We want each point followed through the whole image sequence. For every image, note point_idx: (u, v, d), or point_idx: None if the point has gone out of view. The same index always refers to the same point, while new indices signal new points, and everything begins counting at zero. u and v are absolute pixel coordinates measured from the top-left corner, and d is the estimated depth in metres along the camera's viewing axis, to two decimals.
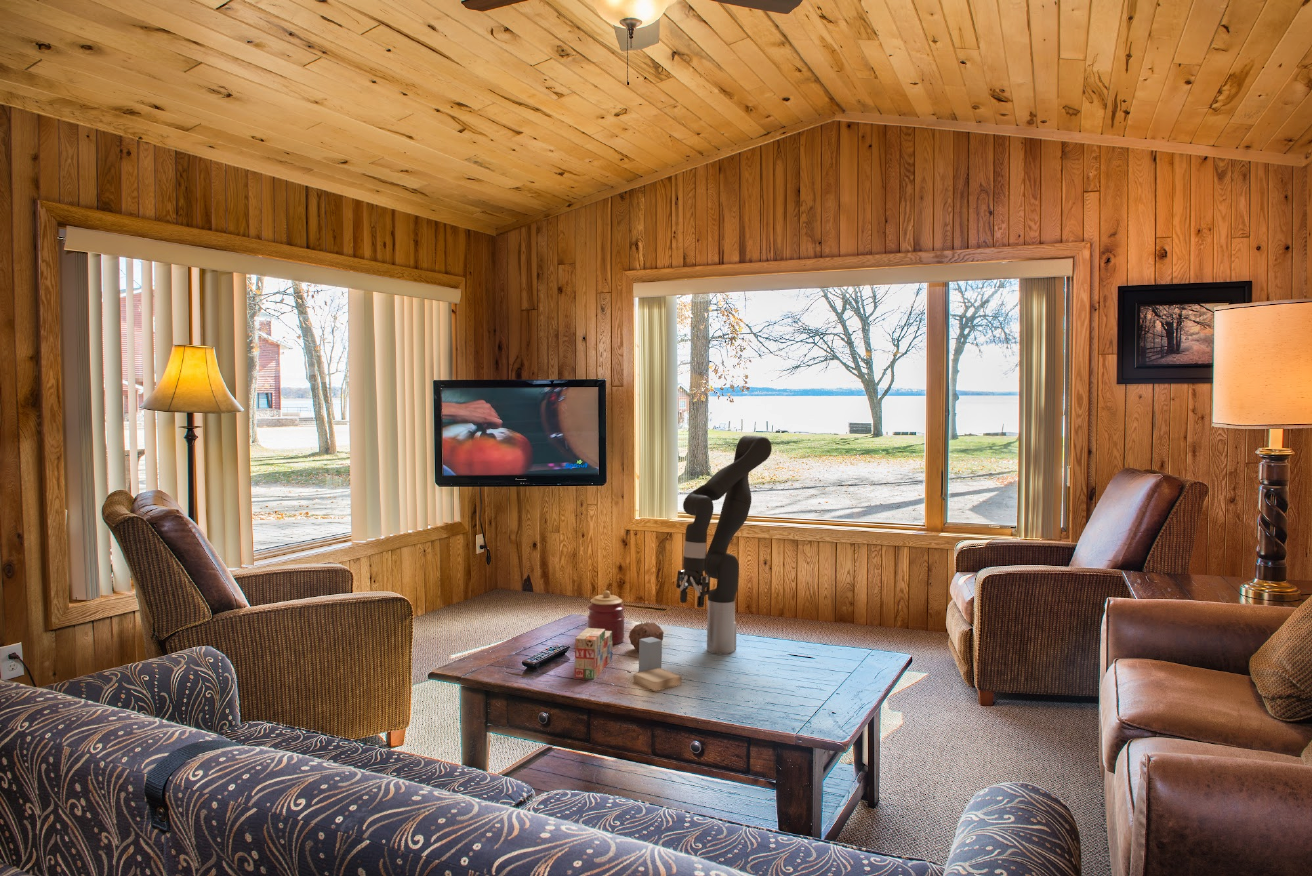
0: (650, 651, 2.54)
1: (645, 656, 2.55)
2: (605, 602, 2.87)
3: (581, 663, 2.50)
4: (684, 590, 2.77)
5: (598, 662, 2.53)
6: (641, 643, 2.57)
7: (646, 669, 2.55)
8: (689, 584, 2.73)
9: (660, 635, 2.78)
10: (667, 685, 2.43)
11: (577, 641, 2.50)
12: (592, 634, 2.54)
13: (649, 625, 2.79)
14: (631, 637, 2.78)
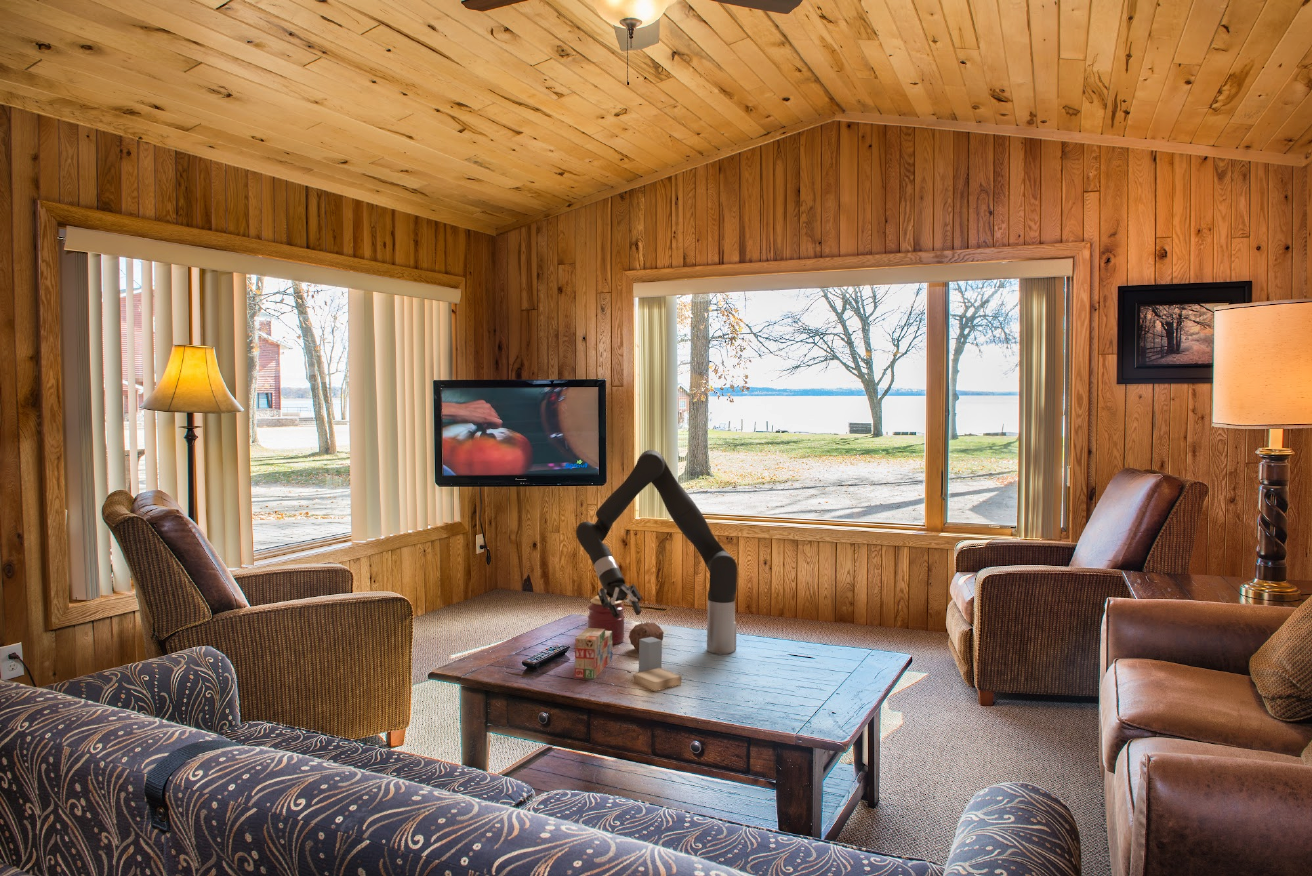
0: (650, 651, 2.54)
1: (645, 656, 2.55)
2: None
3: (581, 663, 2.50)
4: (633, 603, 2.71)
5: (598, 662, 2.54)
6: (641, 643, 2.57)
7: (646, 669, 2.55)
8: None
9: (660, 635, 2.78)
10: (667, 685, 2.43)
11: (577, 641, 2.50)
12: (592, 634, 2.54)
13: (649, 625, 2.79)
14: (631, 637, 2.78)
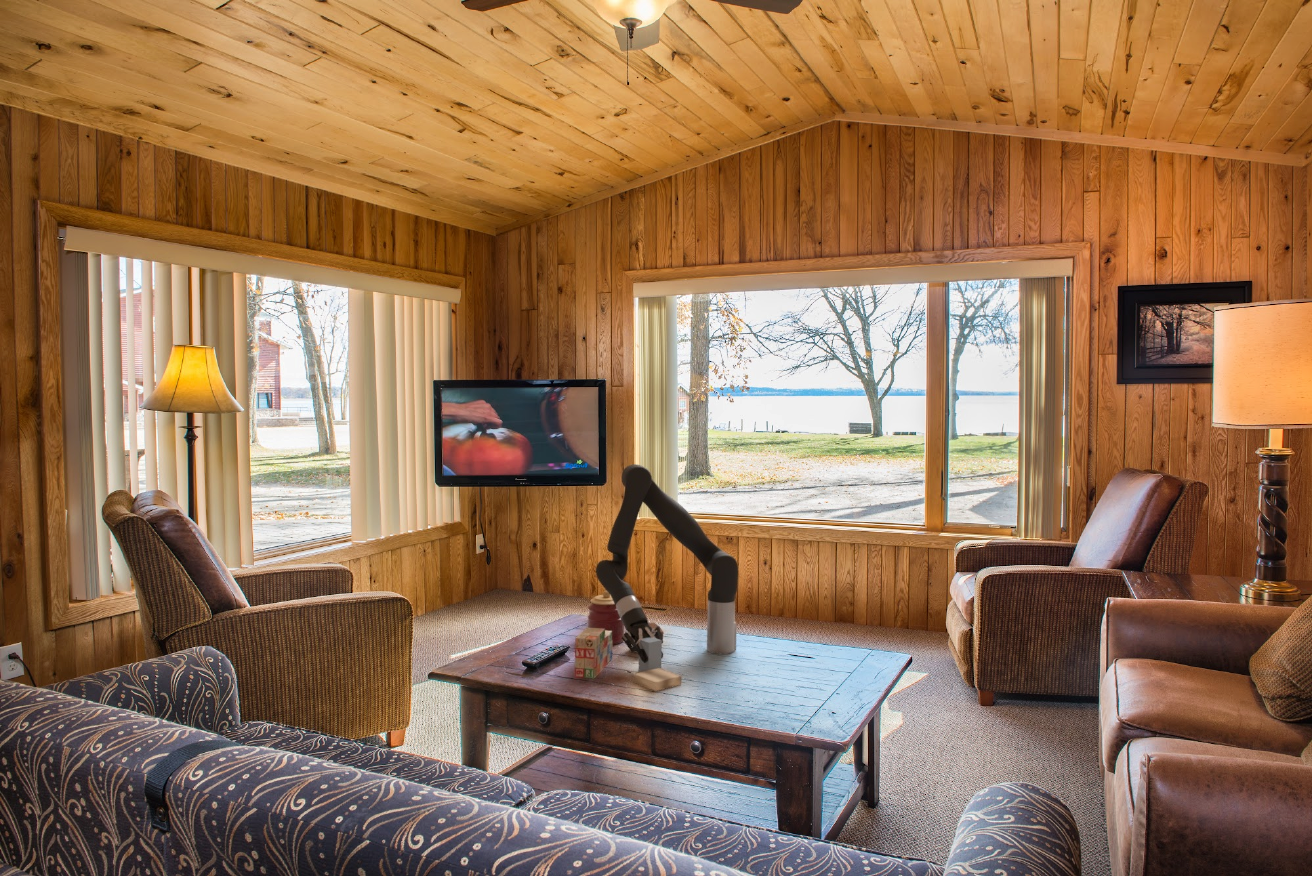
0: (650, 651, 2.54)
1: None
2: (605, 602, 2.87)
3: (581, 662, 2.51)
4: None
5: (598, 662, 2.54)
6: None
7: (646, 669, 2.55)
8: None
9: None
10: (667, 685, 2.43)
11: (577, 641, 2.51)
12: (592, 634, 2.54)
13: None
14: None
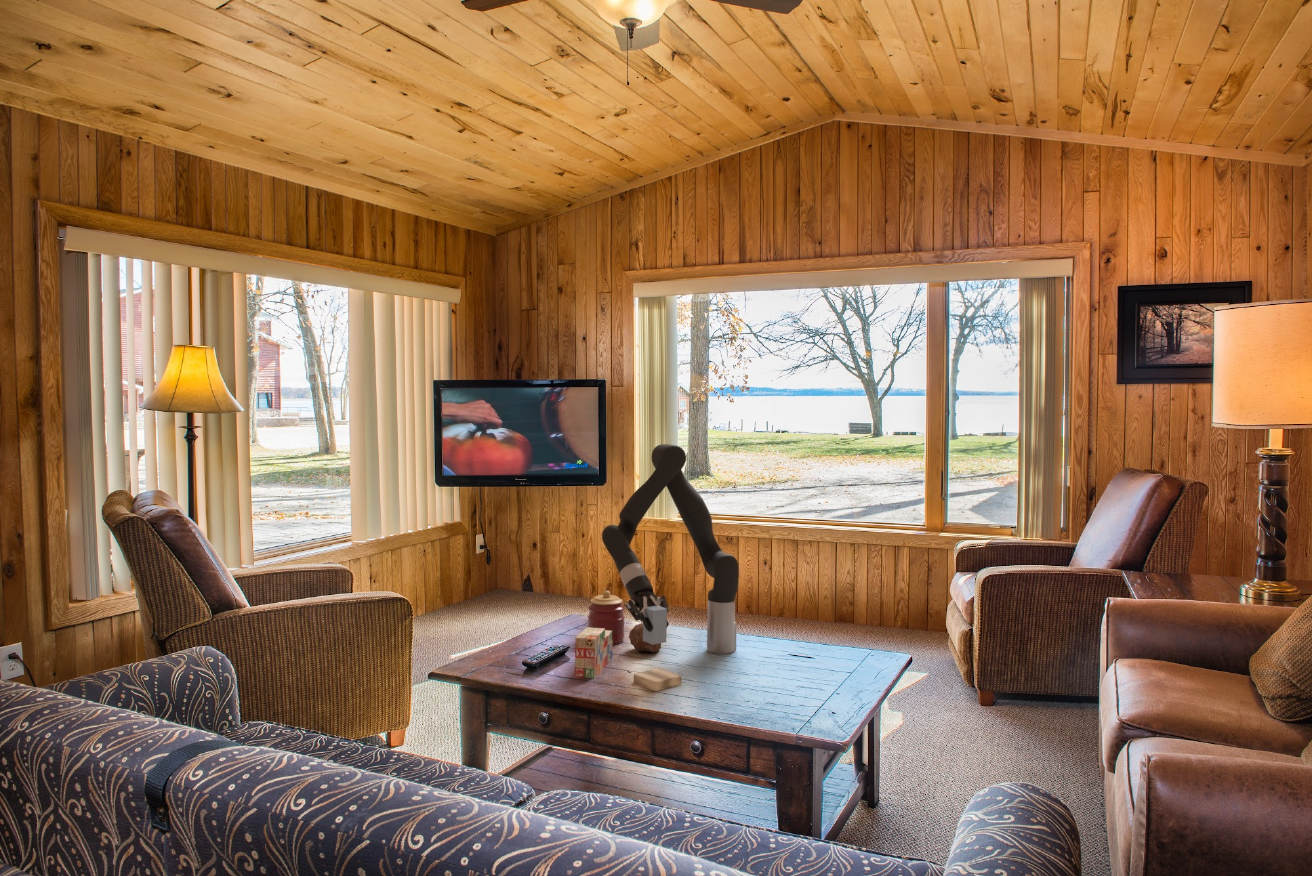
0: (655, 620, 2.45)
1: None
2: (605, 602, 2.87)
3: (581, 662, 2.51)
4: None
5: (598, 661, 2.54)
6: (646, 611, 2.47)
7: (650, 638, 2.45)
8: None
9: None
10: (667, 685, 2.43)
11: (577, 640, 2.51)
12: (592, 633, 2.55)
13: None
14: (631, 637, 2.78)
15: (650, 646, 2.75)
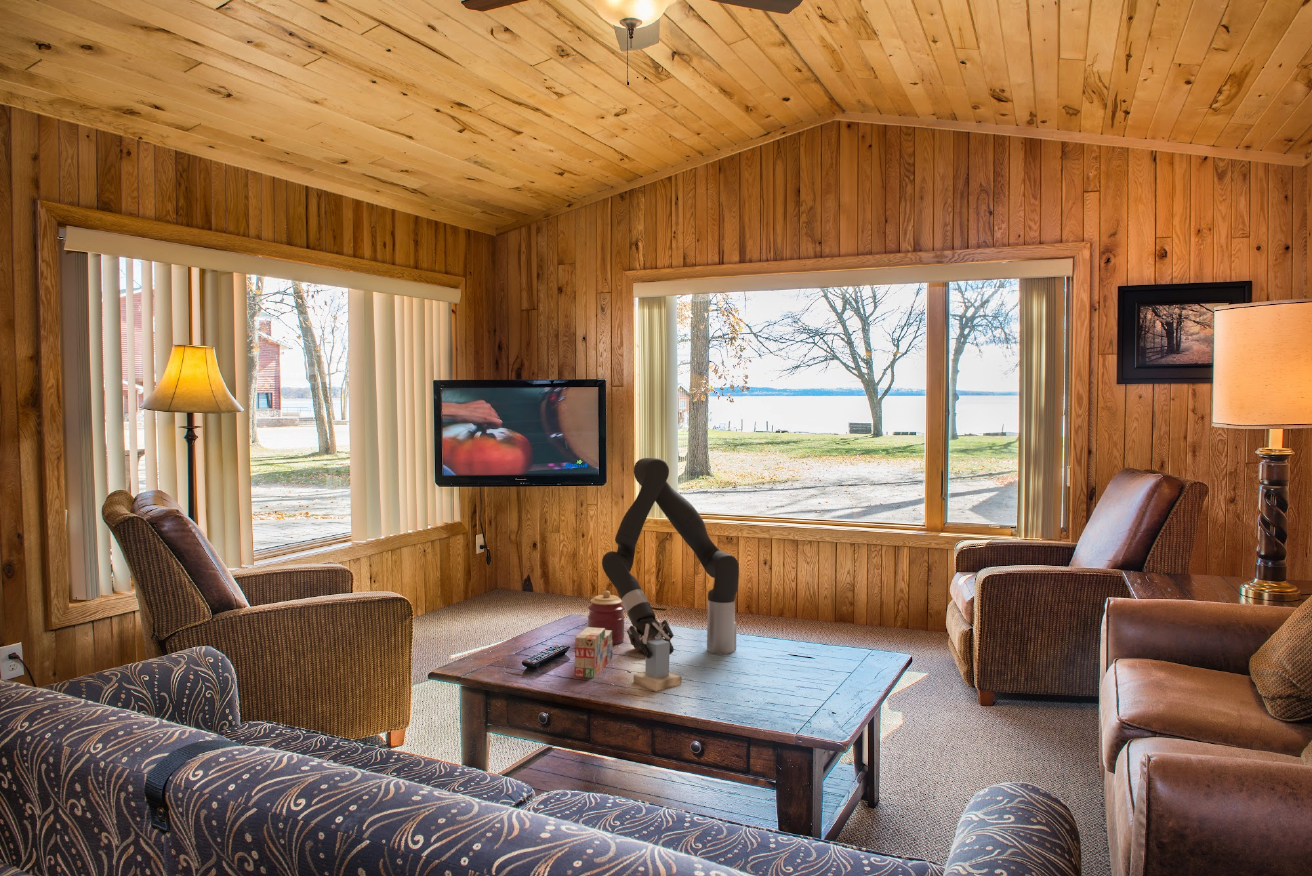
0: (657, 654, 2.43)
1: (652, 659, 2.44)
2: (605, 602, 2.87)
3: (581, 662, 2.51)
4: None
5: (598, 661, 2.54)
6: (648, 645, 2.46)
7: (653, 672, 2.44)
8: None
9: None
10: (668, 685, 2.43)
11: (577, 640, 2.51)
12: (592, 633, 2.55)
13: None
14: None
15: None
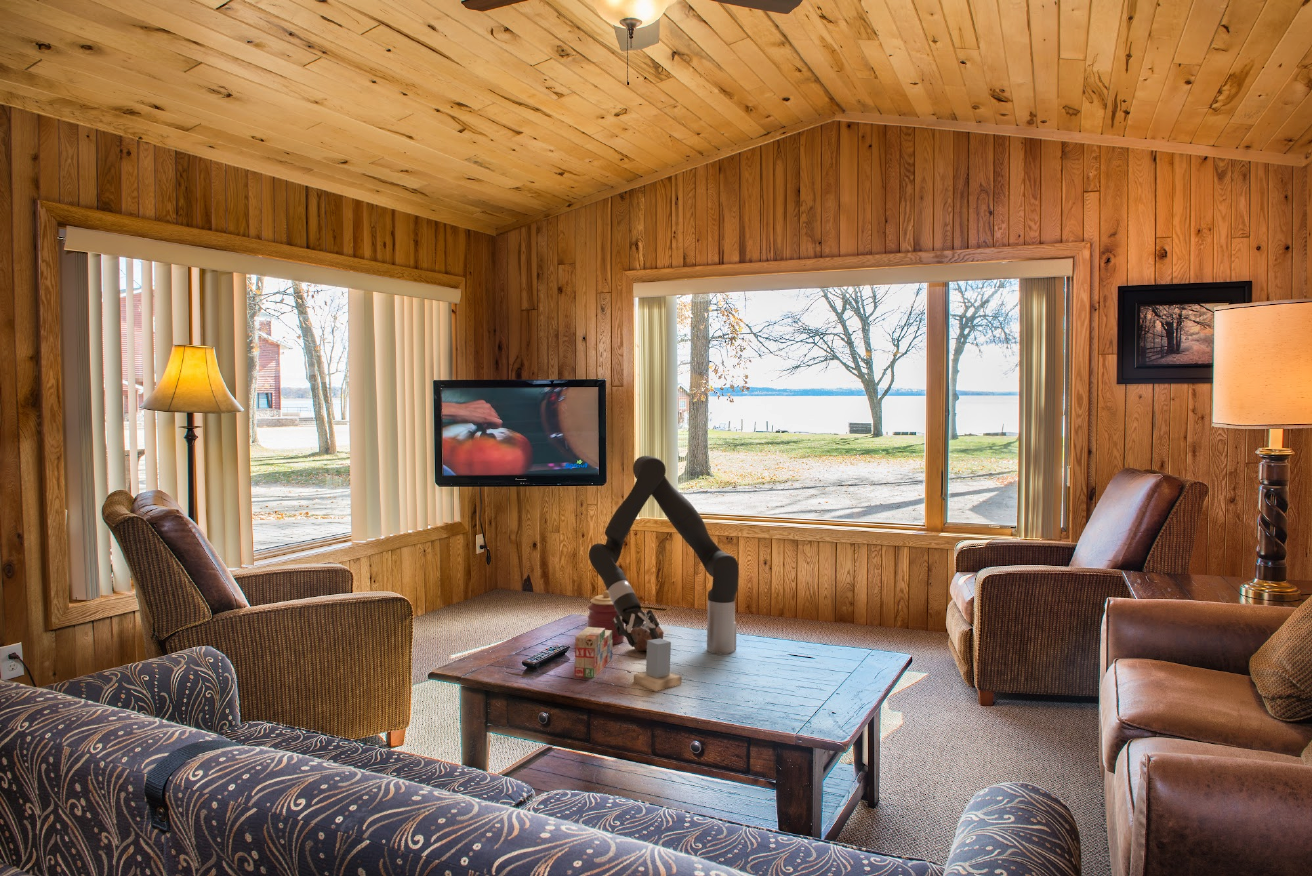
0: (659, 653, 2.43)
1: (654, 658, 2.44)
2: (605, 602, 2.87)
3: (581, 662, 2.51)
4: (650, 630, 2.56)
5: (598, 661, 2.54)
6: (650, 644, 2.46)
7: (654, 672, 2.44)
8: None
9: (660, 635, 2.78)
10: (668, 685, 2.43)
11: (577, 640, 2.51)
12: (592, 633, 2.55)
13: None
14: None
15: None
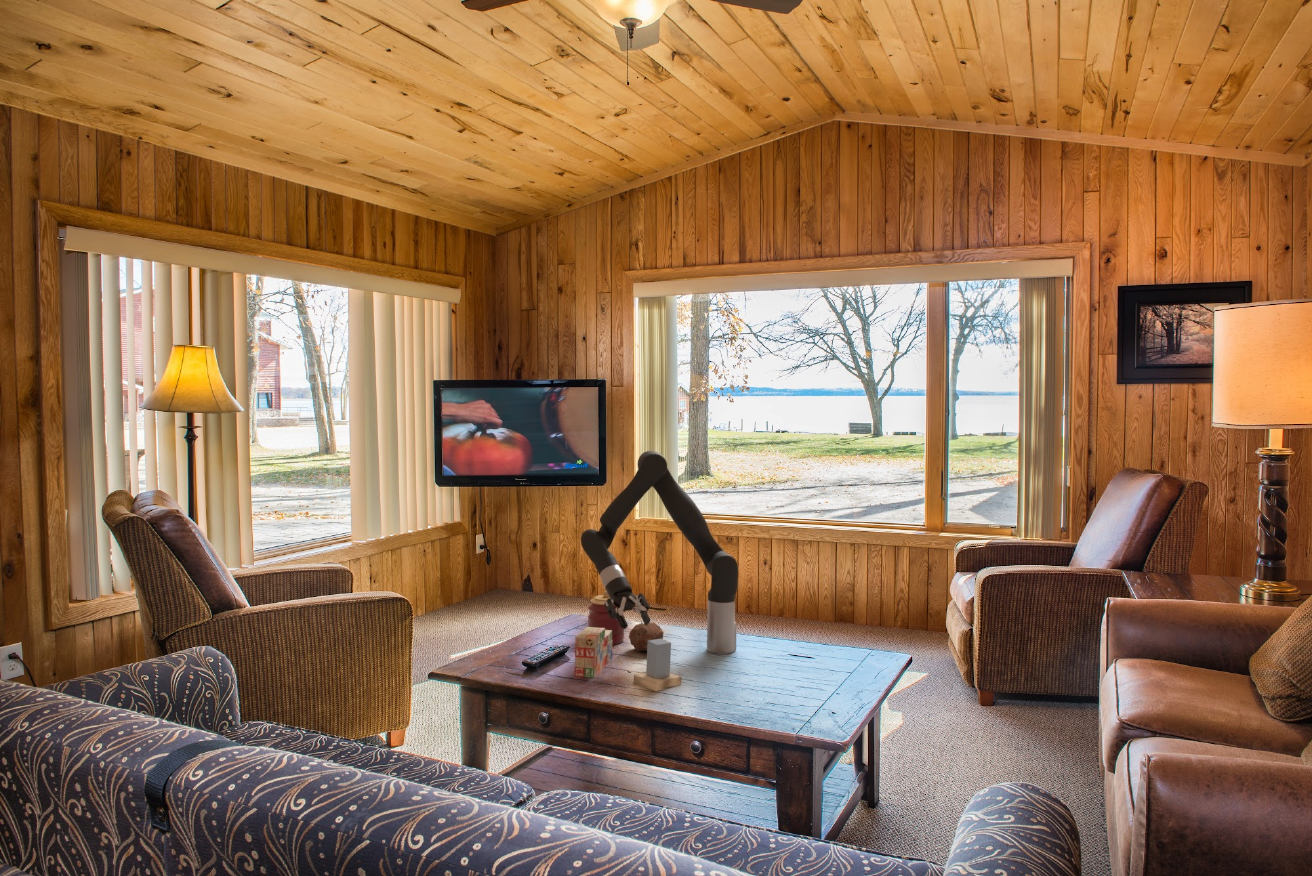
0: (658, 654, 2.43)
1: (653, 659, 2.44)
2: None
3: (581, 662, 2.51)
4: (641, 612, 2.62)
5: (598, 661, 2.55)
6: (650, 645, 2.46)
7: (653, 672, 2.44)
8: None
9: (660, 635, 2.78)
10: (668, 685, 2.43)
11: (577, 640, 2.51)
12: (592, 633, 2.55)
13: (649, 625, 2.79)
14: (631, 637, 2.78)
15: None
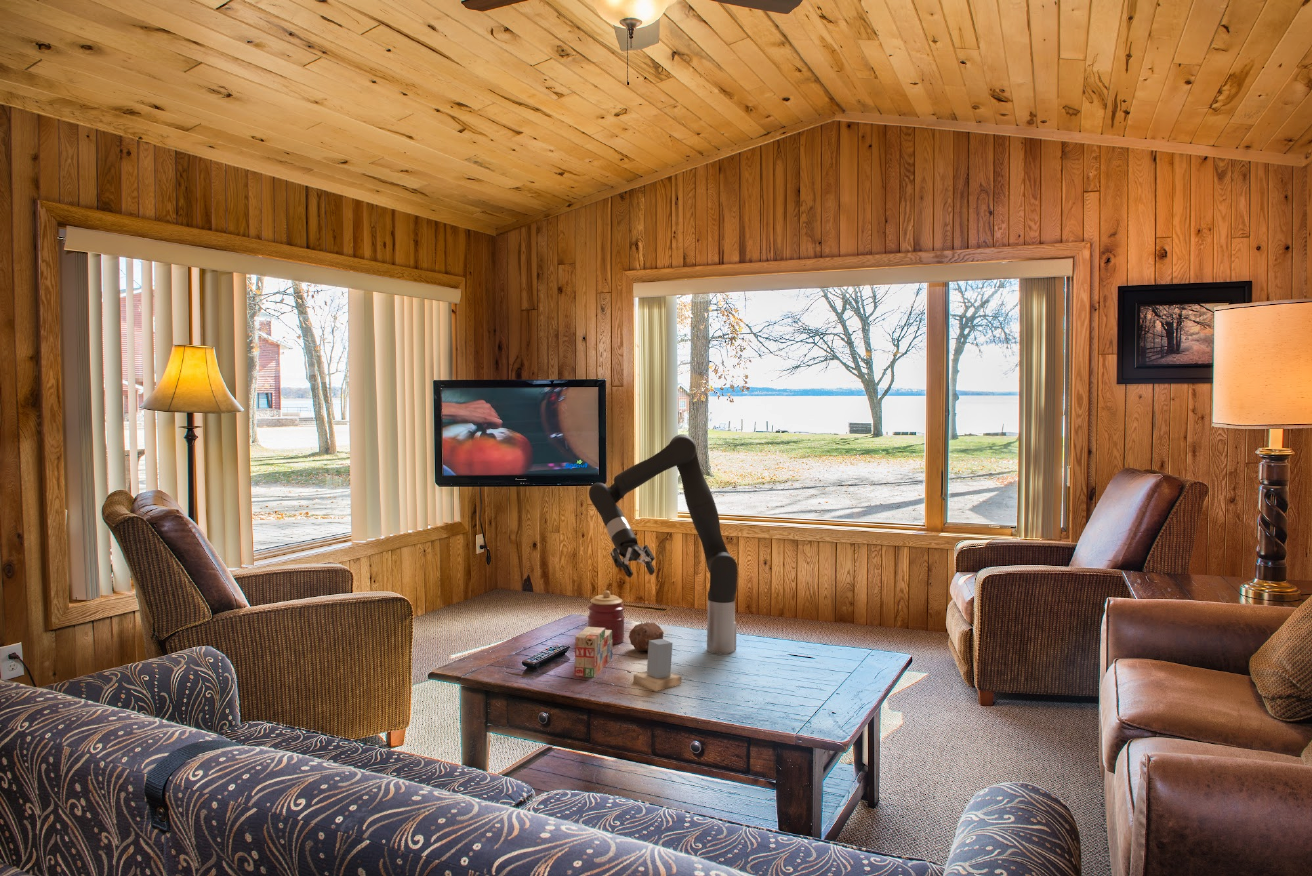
0: (659, 654, 2.43)
1: (654, 659, 2.44)
2: (605, 602, 2.87)
3: (581, 661, 2.51)
4: (646, 563, 2.69)
5: (598, 661, 2.55)
6: (651, 644, 2.45)
7: (654, 672, 2.44)
8: None
9: (660, 635, 2.78)
10: (668, 685, 2.43)
11: (577, 640, 2.52)
12: (592, 633, 2.55)
13: (649, 625, 2.79)
14: (631, 637, 2.78)
15: None
